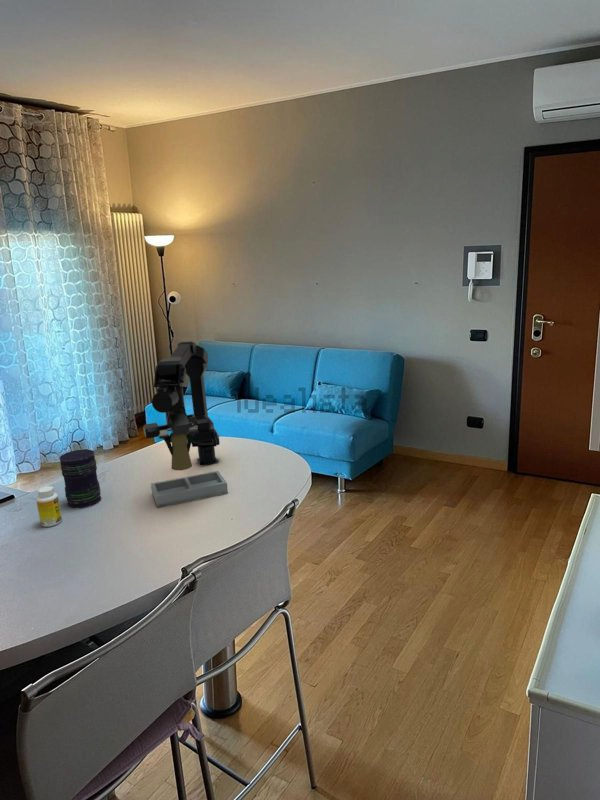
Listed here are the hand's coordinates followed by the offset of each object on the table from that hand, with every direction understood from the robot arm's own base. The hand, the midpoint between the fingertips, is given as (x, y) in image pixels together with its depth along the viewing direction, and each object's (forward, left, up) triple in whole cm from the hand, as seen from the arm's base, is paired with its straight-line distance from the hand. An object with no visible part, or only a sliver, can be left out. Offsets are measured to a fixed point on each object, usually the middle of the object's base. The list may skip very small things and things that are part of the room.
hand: (180, 453), depth 173 cm
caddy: (0, +2, -13) cm, 13 cm away
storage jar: (-10, -28, -13) cm, 33 cm away
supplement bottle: (+1, -37, -13) cm, 40 cm away
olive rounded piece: (0, 0, -4) cm, 4 cm away
